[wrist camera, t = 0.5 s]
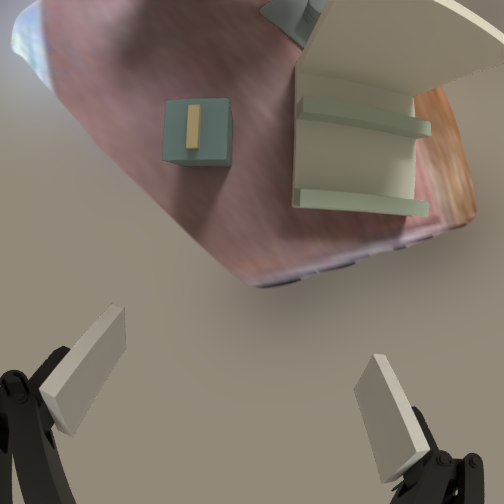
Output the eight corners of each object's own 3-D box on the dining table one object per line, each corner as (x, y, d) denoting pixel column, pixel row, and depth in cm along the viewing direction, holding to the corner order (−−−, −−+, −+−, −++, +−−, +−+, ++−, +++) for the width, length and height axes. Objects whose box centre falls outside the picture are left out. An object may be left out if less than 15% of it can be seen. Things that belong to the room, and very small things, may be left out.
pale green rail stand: (294, 65, 32) (350, -44, 9) (407, 89, 33) (517, 43, 10) (291, 206, 37) (365, 246, 14) (407, 215, 37) (530, 253, 15)
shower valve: (342, 62, 27) (257, -7, 25) (330, 76, 33) (256, 12, 30) (394, 27, 26) (318, -36, 23) (379, 40, 31) (311, -18, 28)
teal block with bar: (187, 122, 34) (162, 96, 22) (232, 122, 34) (228, 94, 22) (185, 166, 35) (158, 159, 23) (231, 166, 35) (225, 158, 23)
